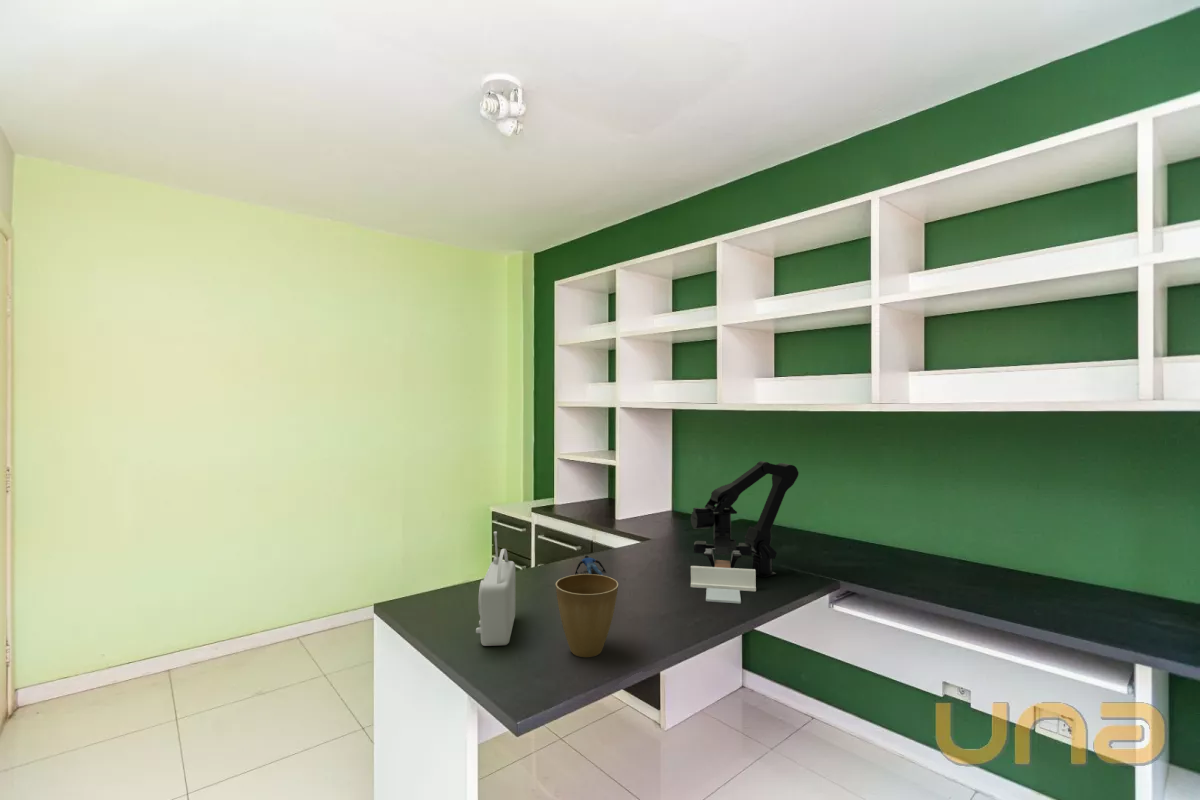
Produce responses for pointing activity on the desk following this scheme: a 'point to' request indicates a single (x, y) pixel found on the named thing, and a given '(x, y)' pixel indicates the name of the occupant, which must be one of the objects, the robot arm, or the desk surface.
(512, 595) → the radio
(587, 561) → the person figurine
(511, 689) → the desk surface
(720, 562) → the plain cardboard-brown cube
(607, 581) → the plant pot
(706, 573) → the off-white ledge rack
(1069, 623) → the desk surface
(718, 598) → the pad
